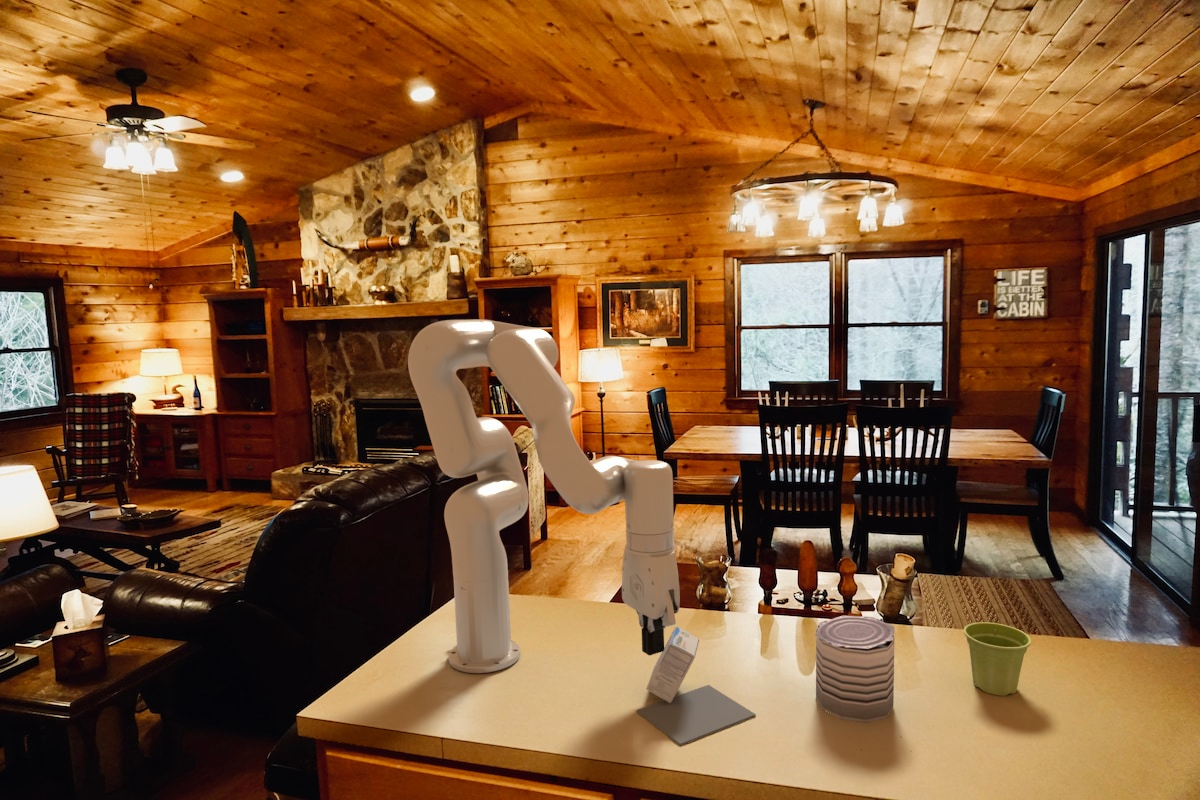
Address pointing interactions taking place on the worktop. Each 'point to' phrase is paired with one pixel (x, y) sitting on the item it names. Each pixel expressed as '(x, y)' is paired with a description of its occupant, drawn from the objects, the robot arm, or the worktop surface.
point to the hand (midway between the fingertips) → (653, 651)
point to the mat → (695, 714)
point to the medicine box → (673, 664)
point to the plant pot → (996, 656)
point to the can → (855, 668)
